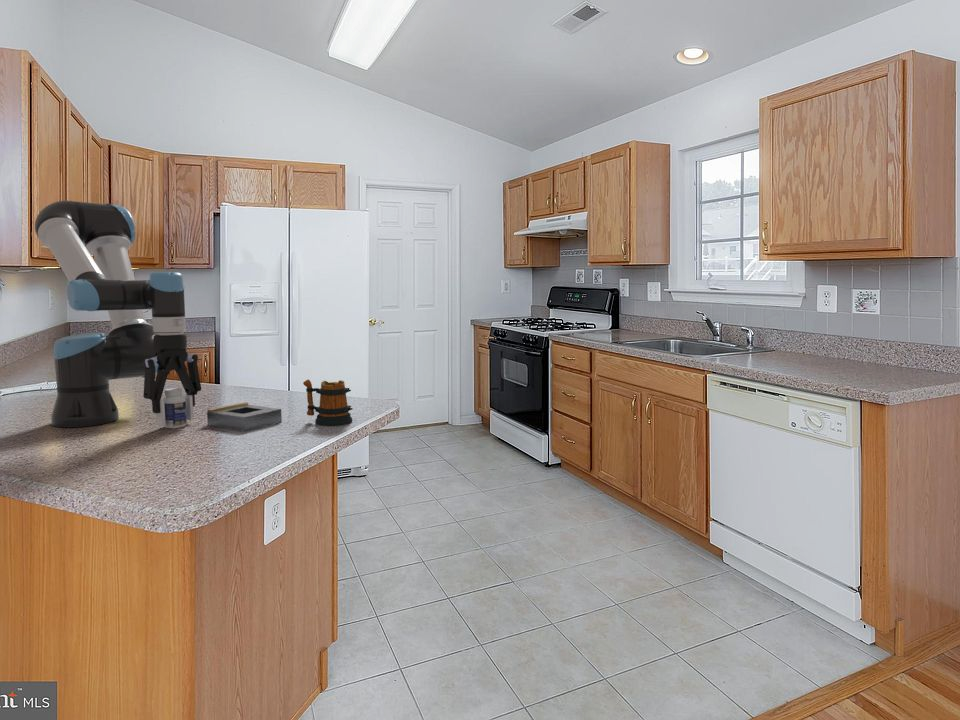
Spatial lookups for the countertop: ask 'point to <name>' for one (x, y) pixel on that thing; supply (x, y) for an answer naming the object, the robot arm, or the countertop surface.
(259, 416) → the jig
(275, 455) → the countertop surface
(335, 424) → the mug
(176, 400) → the pill bottle
